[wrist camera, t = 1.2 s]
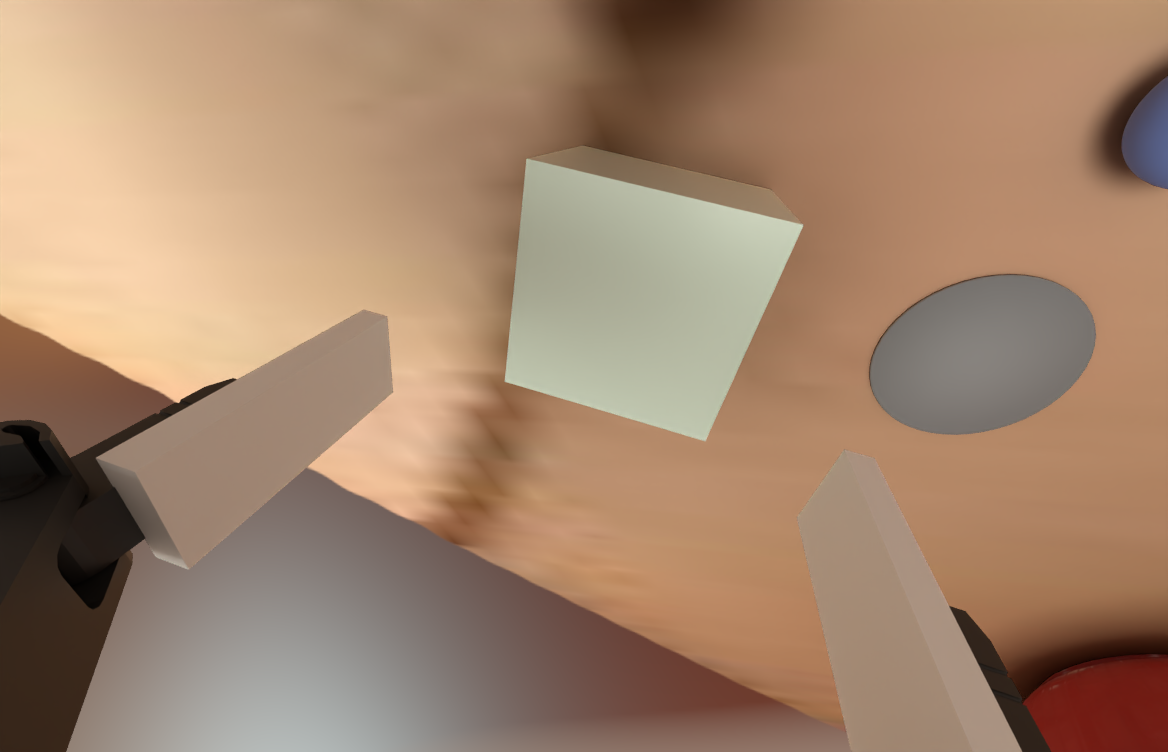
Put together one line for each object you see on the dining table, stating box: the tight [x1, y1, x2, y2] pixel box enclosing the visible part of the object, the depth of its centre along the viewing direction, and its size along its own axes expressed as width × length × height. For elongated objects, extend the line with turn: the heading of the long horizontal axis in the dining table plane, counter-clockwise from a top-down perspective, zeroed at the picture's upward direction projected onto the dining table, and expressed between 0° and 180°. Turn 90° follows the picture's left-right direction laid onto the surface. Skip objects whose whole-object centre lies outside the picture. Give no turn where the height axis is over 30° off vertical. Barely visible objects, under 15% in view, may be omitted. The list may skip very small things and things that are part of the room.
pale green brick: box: [505, 145, 803, 441], centre depth 22 cm, size 10×10×9 cm
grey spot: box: [869, 274, 1096, 435], centre depth 24 cm, size 10×10×1 cm
